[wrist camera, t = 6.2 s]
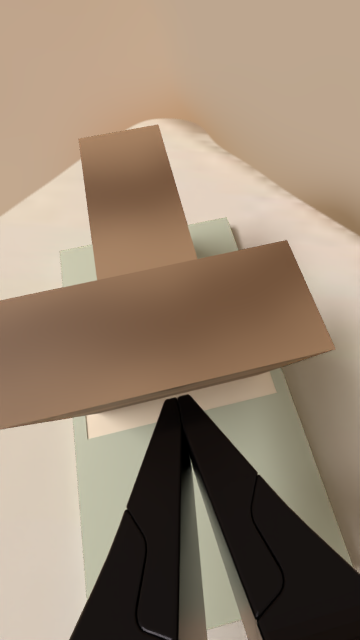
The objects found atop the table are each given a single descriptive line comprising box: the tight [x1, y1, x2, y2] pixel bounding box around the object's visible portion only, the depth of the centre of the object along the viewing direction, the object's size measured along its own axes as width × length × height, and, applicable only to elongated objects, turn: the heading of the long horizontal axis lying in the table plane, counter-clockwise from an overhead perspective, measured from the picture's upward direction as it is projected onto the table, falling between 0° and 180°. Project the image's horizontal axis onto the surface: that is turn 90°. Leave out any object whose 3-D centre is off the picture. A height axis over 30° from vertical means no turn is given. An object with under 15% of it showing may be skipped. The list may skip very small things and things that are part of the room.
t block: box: [0, 125, 335, 429], centre depth 12 cm, size 11×10×8 cm
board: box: [60, 217, 354, 630], centre depth 15 cm, size 22×13×1 cm, turn 13°
